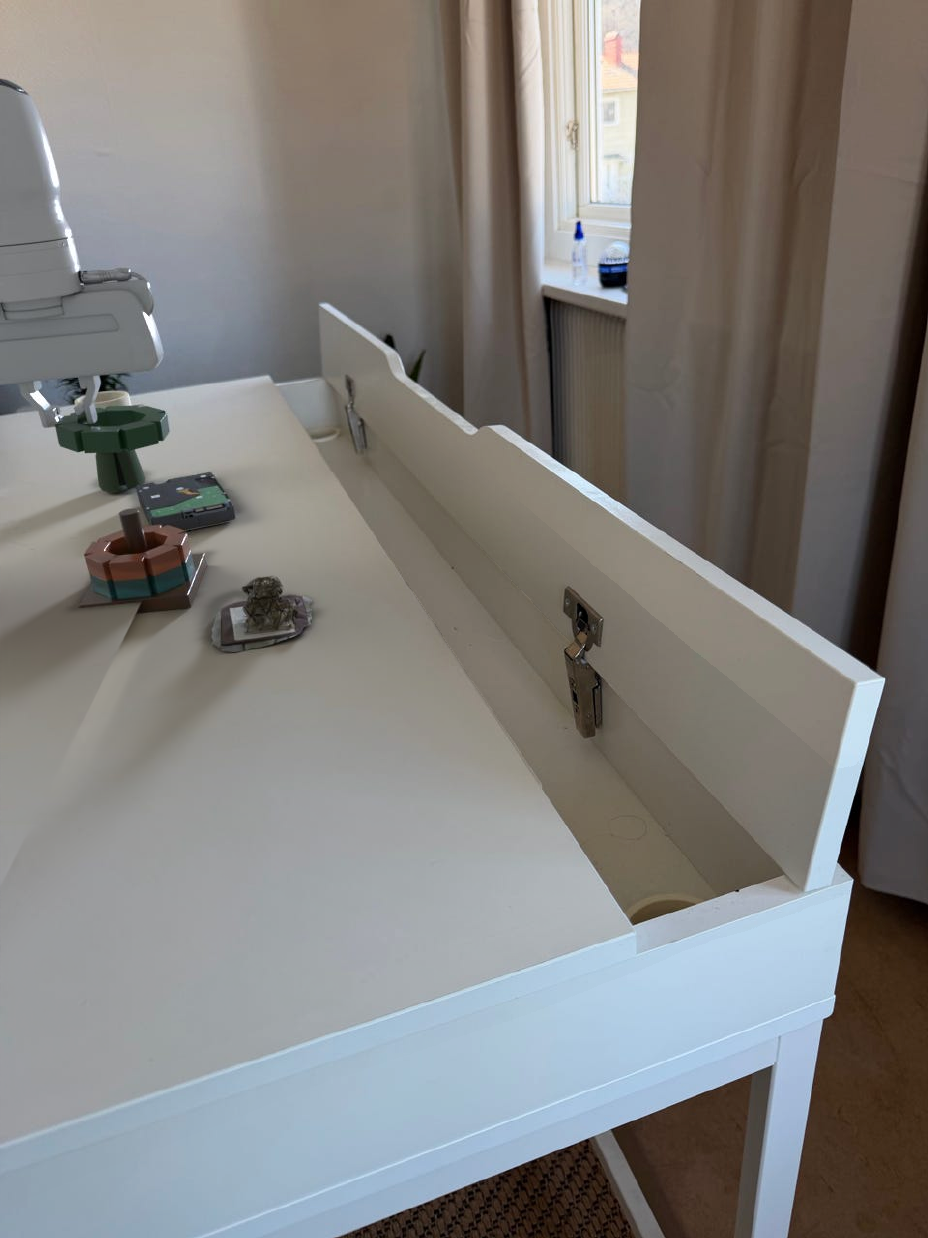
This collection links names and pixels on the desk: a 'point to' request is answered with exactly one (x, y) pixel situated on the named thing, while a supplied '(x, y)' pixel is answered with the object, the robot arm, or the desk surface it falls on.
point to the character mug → (116, 465)
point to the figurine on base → (261, 617)
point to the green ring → (114, 429)
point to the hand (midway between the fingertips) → (70, 424)
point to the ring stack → (143, 567)
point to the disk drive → (186, 502)
